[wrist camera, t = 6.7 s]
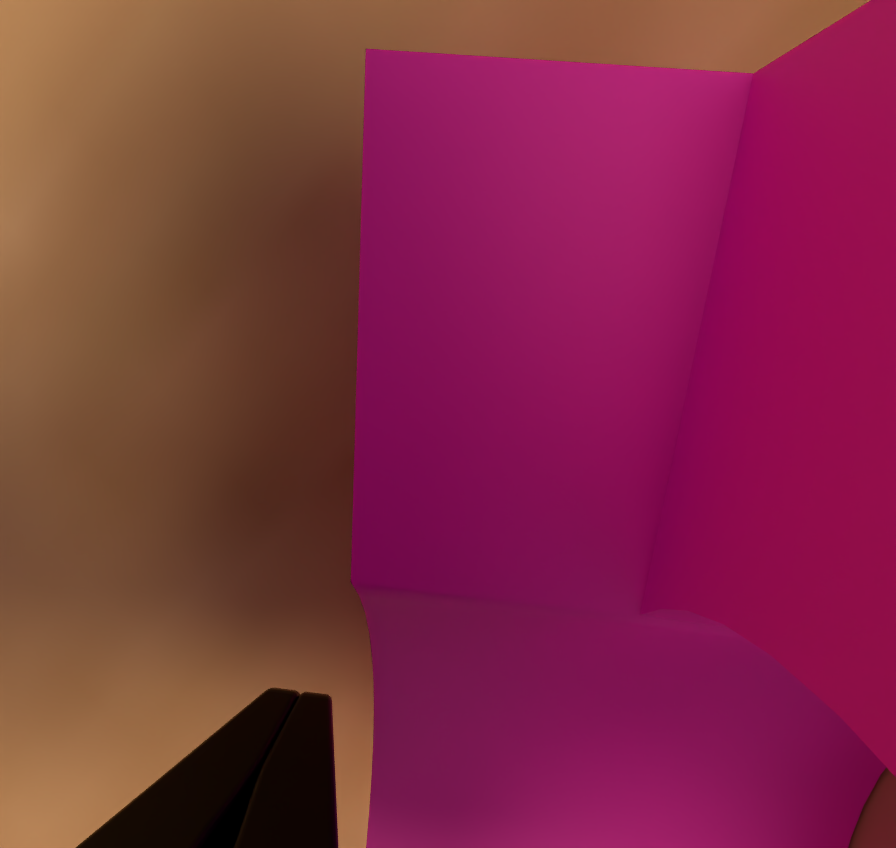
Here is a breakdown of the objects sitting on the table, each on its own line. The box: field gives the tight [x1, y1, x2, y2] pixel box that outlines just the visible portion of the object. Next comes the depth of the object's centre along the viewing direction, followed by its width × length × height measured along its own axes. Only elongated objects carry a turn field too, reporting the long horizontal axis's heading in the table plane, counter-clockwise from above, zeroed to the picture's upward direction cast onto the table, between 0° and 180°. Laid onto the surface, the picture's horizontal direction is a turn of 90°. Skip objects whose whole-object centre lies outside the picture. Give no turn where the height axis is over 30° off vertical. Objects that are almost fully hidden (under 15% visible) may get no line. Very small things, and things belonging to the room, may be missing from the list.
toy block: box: [351, 0, 896, 848], centre depth 7 cm, size 15×6×8 cm, turn 176°
